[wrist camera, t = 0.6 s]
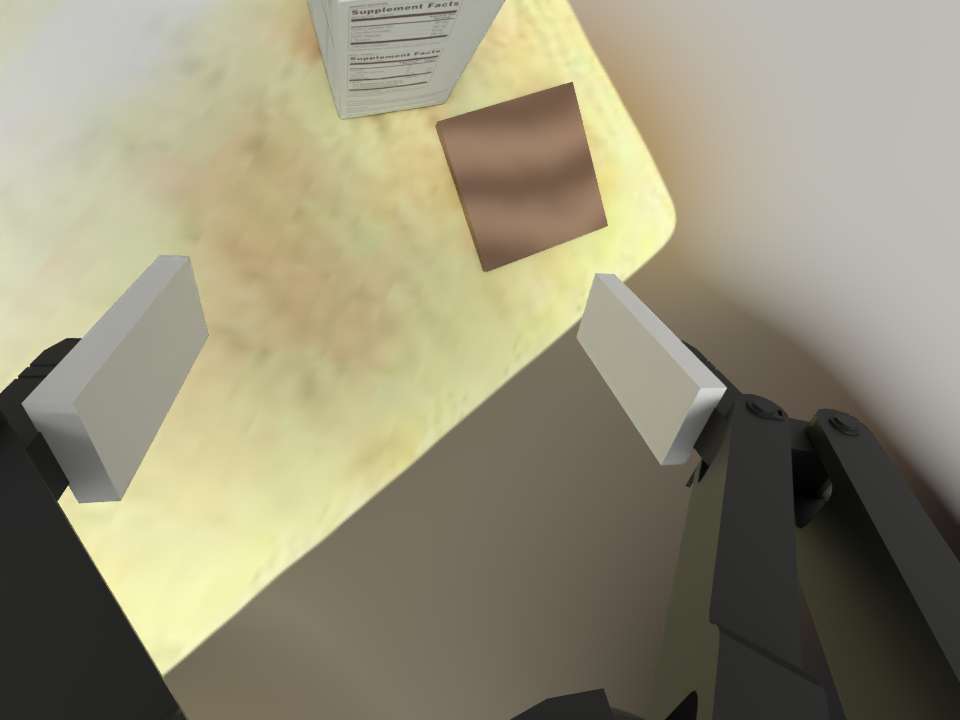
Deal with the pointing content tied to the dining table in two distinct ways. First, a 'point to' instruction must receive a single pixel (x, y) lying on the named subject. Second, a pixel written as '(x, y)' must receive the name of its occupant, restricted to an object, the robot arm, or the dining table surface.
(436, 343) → the dining table surface
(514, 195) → the walnut board
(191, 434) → the dining table surface
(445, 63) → the supplement box
